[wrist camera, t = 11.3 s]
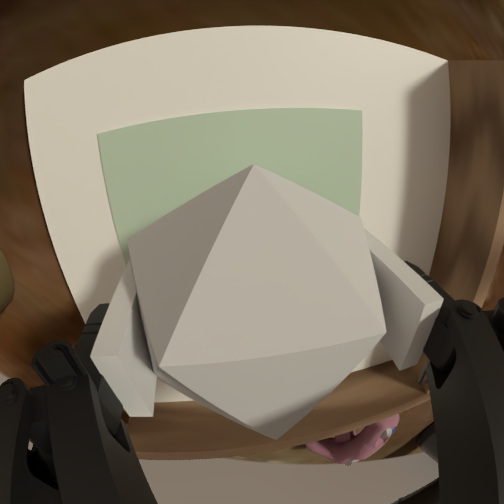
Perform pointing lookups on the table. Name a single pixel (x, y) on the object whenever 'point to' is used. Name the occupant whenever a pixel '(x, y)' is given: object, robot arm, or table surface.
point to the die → (256, 298)
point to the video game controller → (356, 442)
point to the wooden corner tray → (281, 163)
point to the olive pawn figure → (5, 282)
